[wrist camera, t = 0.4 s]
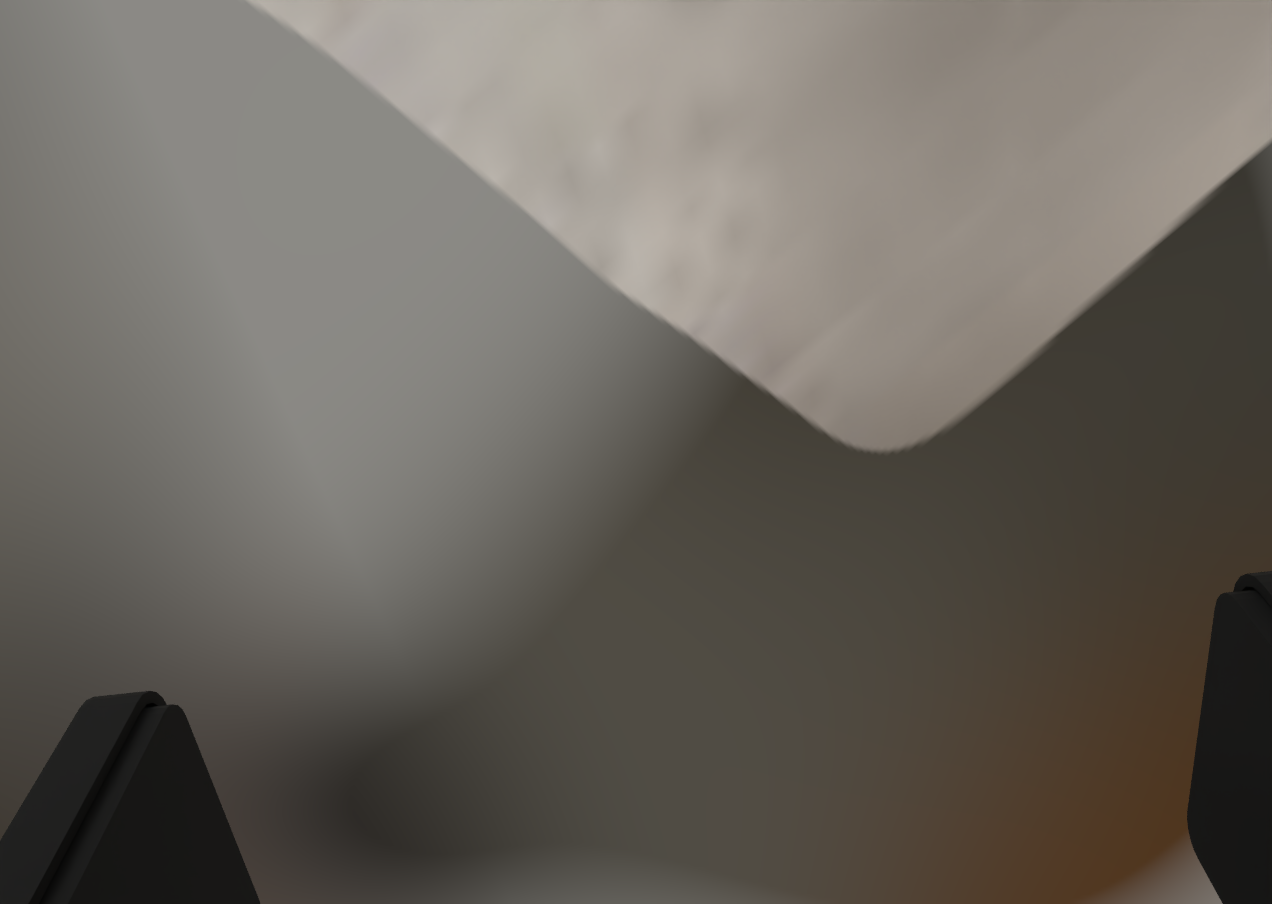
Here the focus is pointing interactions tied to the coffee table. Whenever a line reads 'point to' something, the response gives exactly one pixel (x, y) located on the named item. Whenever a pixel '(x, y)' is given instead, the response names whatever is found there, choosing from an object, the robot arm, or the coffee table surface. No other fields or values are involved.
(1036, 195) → the coffee table surface
